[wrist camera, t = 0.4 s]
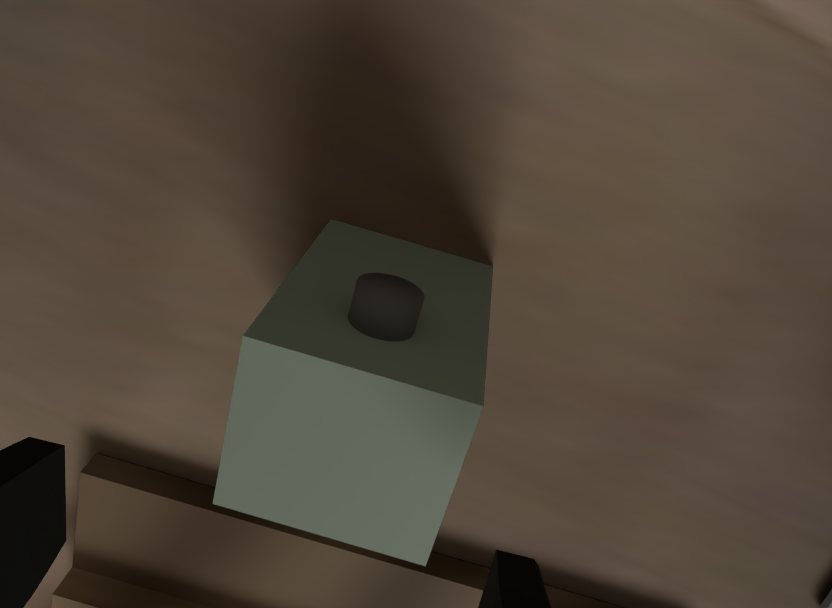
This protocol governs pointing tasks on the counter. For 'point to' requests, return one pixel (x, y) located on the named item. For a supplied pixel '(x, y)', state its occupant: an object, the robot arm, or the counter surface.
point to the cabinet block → (360, 392)
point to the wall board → (237, 556)
